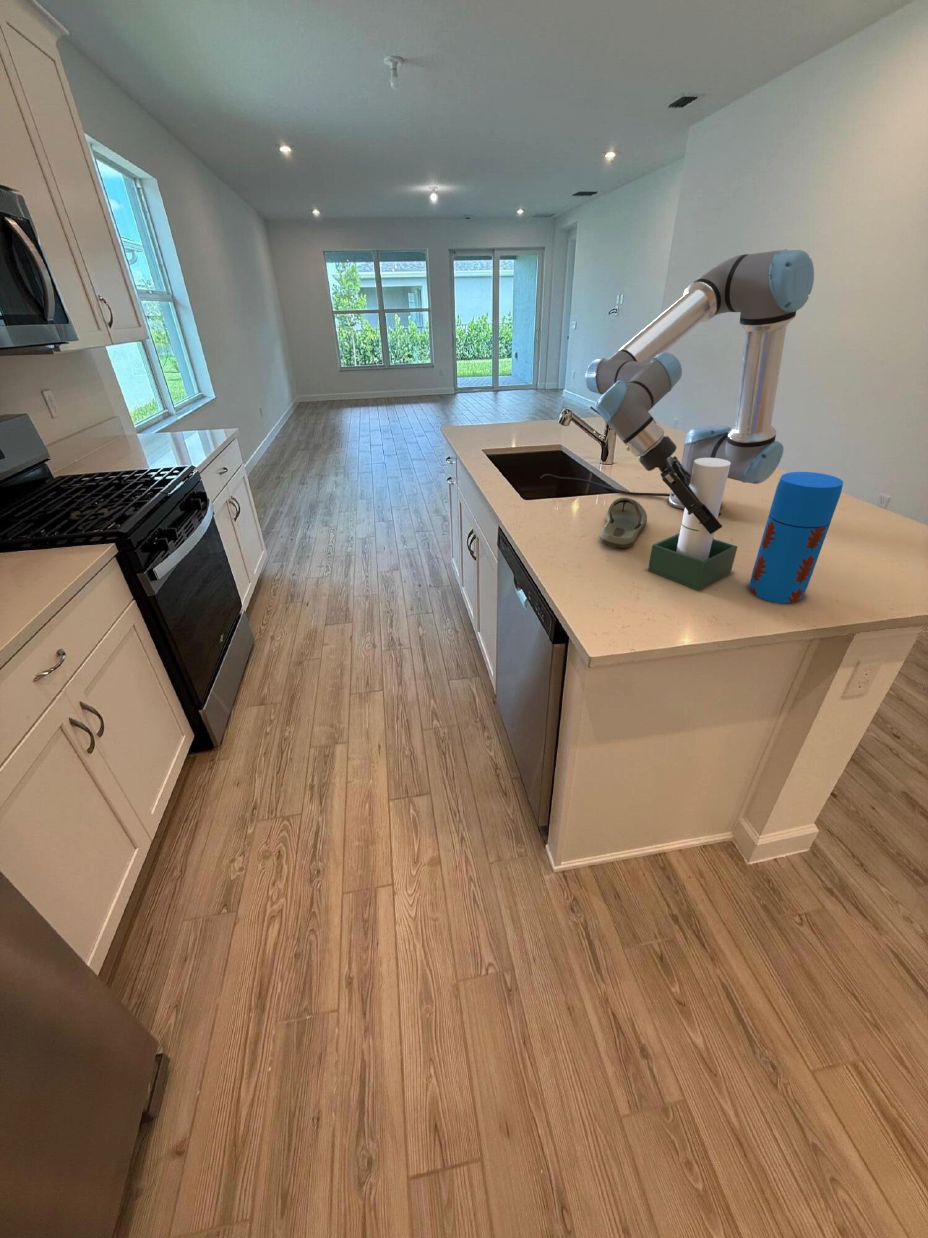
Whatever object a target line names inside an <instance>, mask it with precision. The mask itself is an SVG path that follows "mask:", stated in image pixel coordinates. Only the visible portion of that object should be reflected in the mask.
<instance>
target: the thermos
mask: <svg viewBox="0 0 928 1238" xmlns="http://www.w3.org/2000/svg"><path fill="white" fill-rule="evenodd" d="M843 487H844V481H843V480H842V479H841V478H840V477H837V476H834V475H830V474H827V473H821V472H813V471H792V472H786V473H783V474H781V476H780V478H779V480H778V482H777V485H776V488H775V492H774V496H773V499H772V501H771V502H772V503H771V506H770V509H769V514H768V516H767V520H766V523H765V526H764V530H763V534H762V537H761V540H760V541H761V542H760V544H759V548H758V551H757V555H756V557H755V562H754V565H753V569H752V572H751V577H750V582H749V587H748V588H749V592H751V593H752V595H754V596H755V597H757V598H759V599H762V600H764V601H767V602H771V603H777V604H793V603H794V604H795V603H799V602H800V601H802V600H803V598H804V596H805V594H806V591H807V588H808V586H809V584H810V581H811V578H812V576H813V573H814V570H815V567H816V564H817V561H818V559H819V556H820V554H821V551H822V548H823V545H824V541H825V540H826V537H827V534H828V531H829V528H830V525H831V523H832V520H833V517H834V514H835V512H836V509H837V506H838V503H839V500H840V497H841V494H842V490H843Z"/></svg>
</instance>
